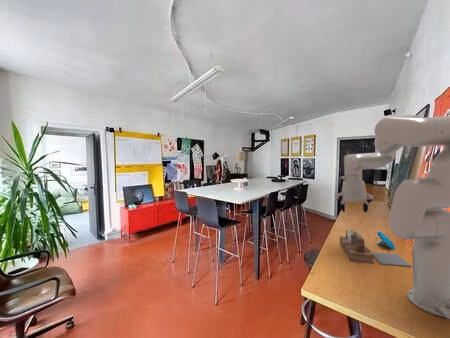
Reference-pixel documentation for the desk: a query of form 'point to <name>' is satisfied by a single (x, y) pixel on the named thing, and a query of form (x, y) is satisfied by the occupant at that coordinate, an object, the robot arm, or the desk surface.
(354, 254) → the brown stepped block
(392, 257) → the mat
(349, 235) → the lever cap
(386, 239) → the blue bumpy piece
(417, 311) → the desk surface
